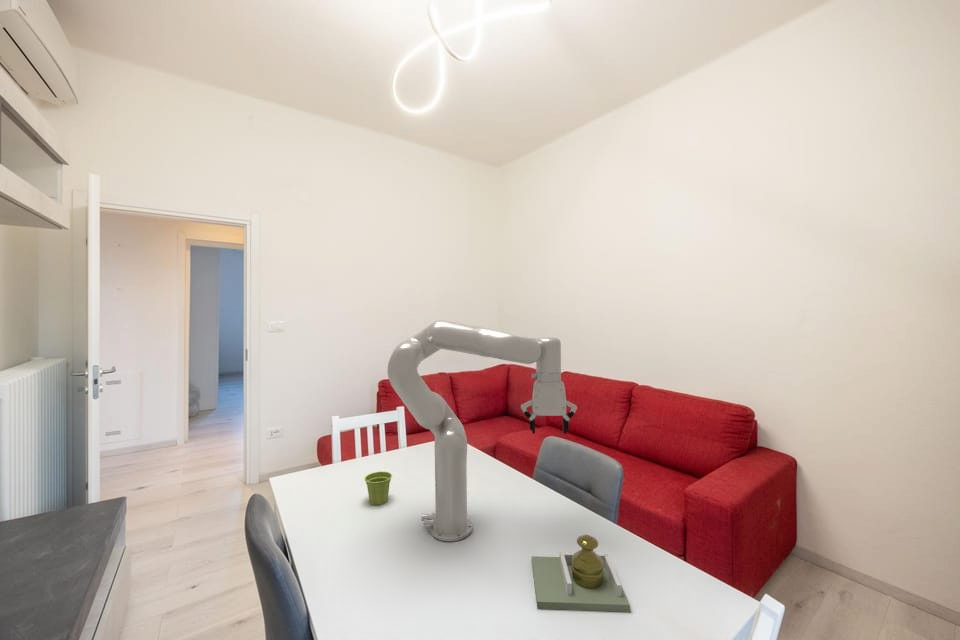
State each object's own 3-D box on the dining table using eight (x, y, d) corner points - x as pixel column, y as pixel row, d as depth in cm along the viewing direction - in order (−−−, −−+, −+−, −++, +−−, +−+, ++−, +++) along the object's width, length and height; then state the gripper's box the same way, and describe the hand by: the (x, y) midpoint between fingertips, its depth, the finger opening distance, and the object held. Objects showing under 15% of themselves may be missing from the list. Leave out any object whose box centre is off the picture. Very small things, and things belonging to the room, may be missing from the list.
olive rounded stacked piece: (599, 593, 86) (599, 549, 86) (567, 582, 90) (567, 539, 90) (606, 574, 92) (606, 533, 92) (576, 564, 96) (576, 525, 96)
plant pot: (358, 505, 131) (358, 479, 131) (376, 493, 140) (375, 469, 140) (381, 510, 128) (381, 484, 127) (397, 497, 136) (397, 473, 136)
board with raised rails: (537, 608, 84) (537, 590, 84) (531, 562, 100) (531, 546, 100) (630, 611, 83) (629, 593, 83) (609, 564, 99) (609, 548, 99)
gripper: (521, 379, 115) (521, 436, 115) (579, 379, 114) (579, 436, 114) (520, 375, 122) (520, 428, 122) (574, 375, 121) (574, 429, 121)
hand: (548, 432), depth 118 cm, fingers open, 9 cm apart
